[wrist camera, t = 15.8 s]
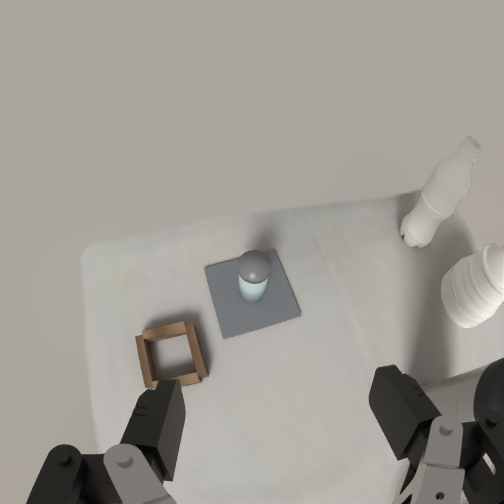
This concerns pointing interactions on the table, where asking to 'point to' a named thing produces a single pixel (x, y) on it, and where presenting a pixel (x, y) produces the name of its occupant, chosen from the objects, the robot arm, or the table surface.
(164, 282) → the table surface
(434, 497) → the robot arm
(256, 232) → the table surface
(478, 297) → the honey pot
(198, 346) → the walnut collar
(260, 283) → the grey-capped cylinder canister
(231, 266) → the slate pad
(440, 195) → the water bottle
